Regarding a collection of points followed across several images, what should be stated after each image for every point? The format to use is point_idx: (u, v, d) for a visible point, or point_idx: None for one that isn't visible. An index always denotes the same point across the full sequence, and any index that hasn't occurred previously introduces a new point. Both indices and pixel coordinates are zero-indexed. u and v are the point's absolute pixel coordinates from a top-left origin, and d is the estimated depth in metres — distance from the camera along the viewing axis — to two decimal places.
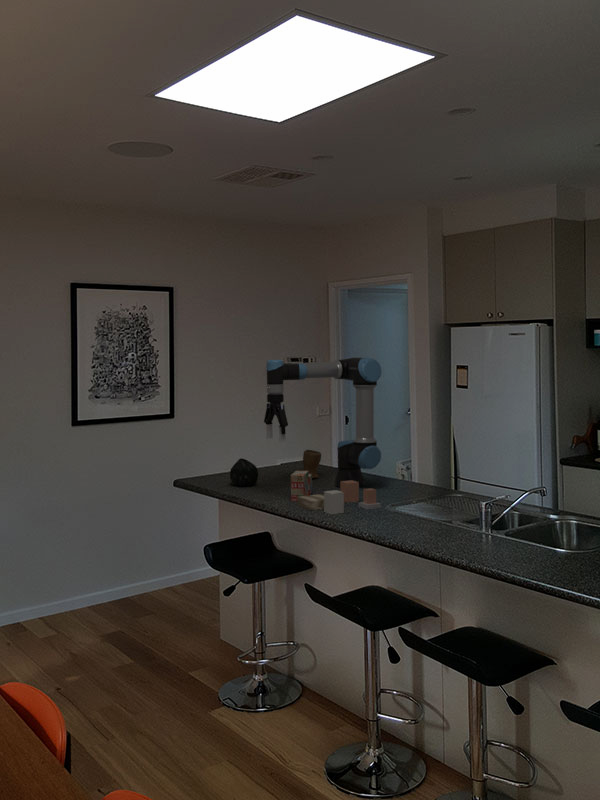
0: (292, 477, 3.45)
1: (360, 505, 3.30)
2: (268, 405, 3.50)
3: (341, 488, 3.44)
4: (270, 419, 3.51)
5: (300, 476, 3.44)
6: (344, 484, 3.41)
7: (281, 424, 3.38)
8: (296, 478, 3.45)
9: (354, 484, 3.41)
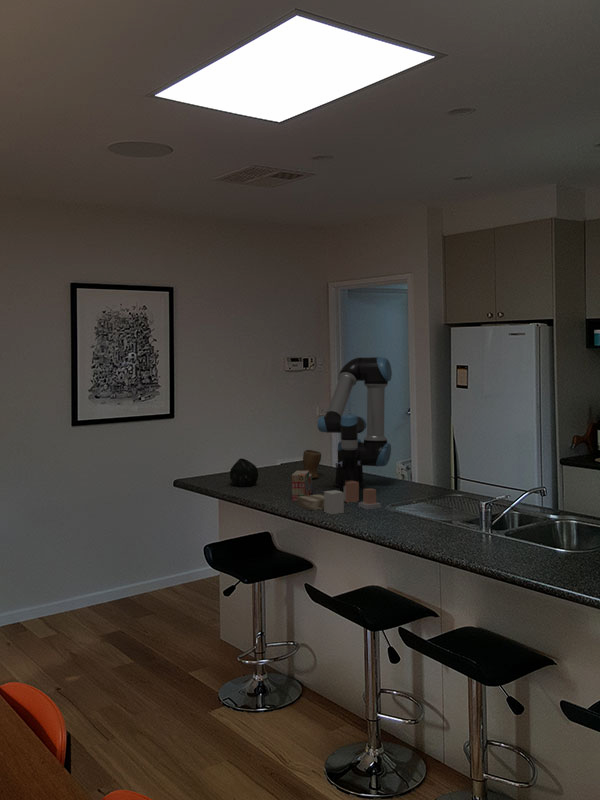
0: (293, 477, 3.45)
1: (360, 505, 3.30)
2: None
3: None
4: (354, 477, 3.44)
5: (301, 476, 3.45)
6: (344, 484, 3.41)
7: None
8: (297, 478, 3.45)
9: (354, 484, 3.41)
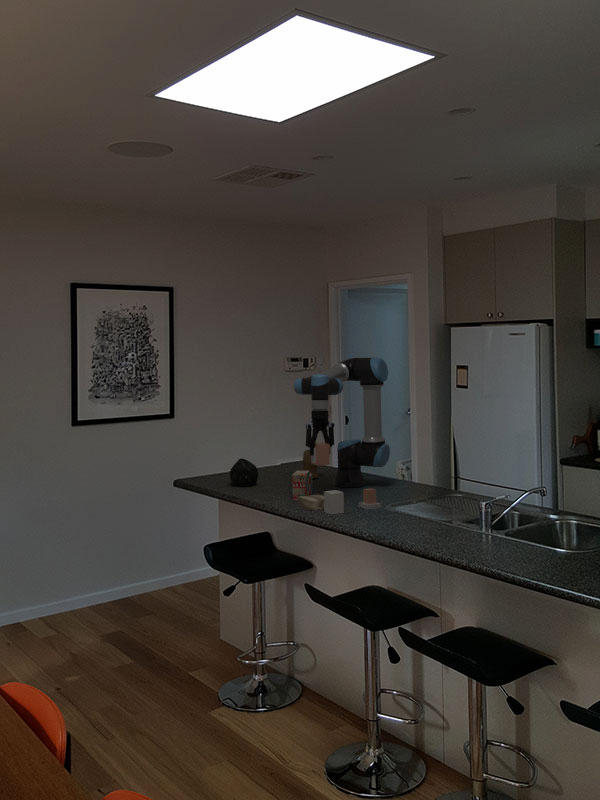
0: (294, 477, 3.46)
1: (360, 505, 3.30)
2: None
3: None
4: (325, 439, 3.34)
5: (302, 476, 3.45)
6: (314, 446, 3.30)
7: None
8: (298, 478, 3.45)
9: (325, 446, 3.30)
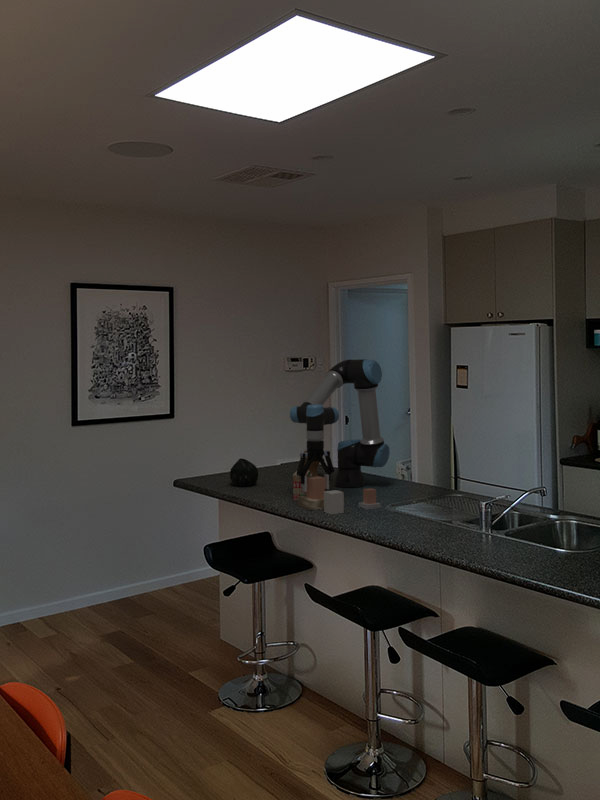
0: (294, 477, 3.46)
1: (360, 505, 3.30)
2: None
3: None
4: (324, 468, 3.34)
5: None
6: (310, 480, 3.30)
7: None
8: (298, 478, 3.46)
9: (320, 480, 3.30)
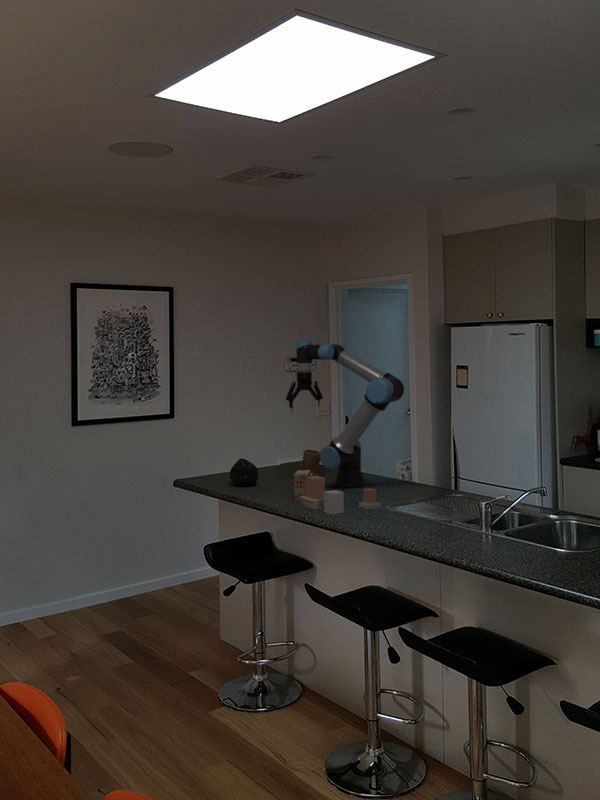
0: (295, 476, 3.47)
1: (360, 505, 3.30)
2: None
3: (306, 484, 3.32)
4: (313, 395, 3.83)
5: (303, 475, 3.46)
6: (310, 480, 3.30)
7: (289, 398, 3.77)
8: (299, 477, 3.46)
9: (320, 480, 3.30)
